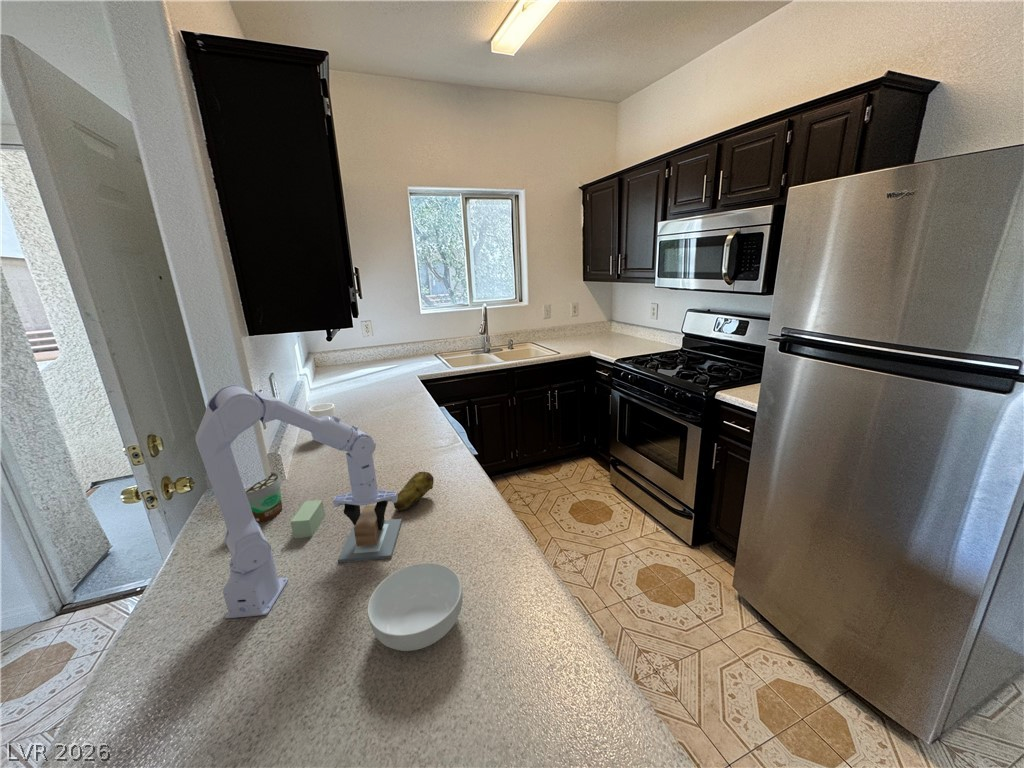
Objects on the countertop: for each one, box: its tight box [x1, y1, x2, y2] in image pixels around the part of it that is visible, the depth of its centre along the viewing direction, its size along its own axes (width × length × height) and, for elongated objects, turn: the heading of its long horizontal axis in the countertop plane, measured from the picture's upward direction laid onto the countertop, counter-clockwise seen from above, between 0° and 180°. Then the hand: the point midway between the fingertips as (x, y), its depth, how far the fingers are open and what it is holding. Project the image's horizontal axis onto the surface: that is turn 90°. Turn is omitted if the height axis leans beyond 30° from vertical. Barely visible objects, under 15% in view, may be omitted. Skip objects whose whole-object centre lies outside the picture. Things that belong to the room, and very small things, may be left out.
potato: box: [393, 471, 435, 512], centre depth 113 cm, size 8×13×8 cm, turn 125°
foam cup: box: [308, 402, 336, 418], centre depth 160 cm, size 10×9×13 cm
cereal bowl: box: [367, 562, 463, 652], centre depth 73 cm, size 17×17×7 cm
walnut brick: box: [354, 504, 386, 547], centre depth 97 cm, size 9×4×5 cm, turn 5°
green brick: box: [290, 499, 326, 539], centre depth 104 cm, size 9×4×5 cm, turn 5°
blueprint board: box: [337, 518, 403, 563], centre depth 98 cm, size 14×12×1 cm
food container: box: [245, 471, 283, 524], centre depth 109 cm, size 12×6×10 cm, turn 168°
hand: (370, 528), depth 97 cm, fingers closed on walnut brick, 4 cm apart
